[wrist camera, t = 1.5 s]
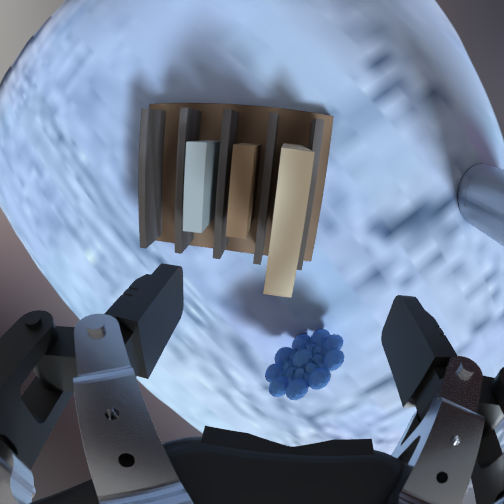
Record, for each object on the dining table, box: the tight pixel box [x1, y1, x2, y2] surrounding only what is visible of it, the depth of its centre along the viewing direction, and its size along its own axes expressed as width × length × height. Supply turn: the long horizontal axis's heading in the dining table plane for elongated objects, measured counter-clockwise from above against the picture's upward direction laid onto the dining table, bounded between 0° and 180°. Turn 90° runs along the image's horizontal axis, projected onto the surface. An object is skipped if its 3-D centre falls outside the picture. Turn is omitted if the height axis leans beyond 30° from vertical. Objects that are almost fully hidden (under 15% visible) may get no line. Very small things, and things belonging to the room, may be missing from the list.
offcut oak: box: [226, 143, 261, 239], centre depth 30 cm, size 2×9×7 cm, turn 174°
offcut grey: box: [183, 140, 220, 233], centre depth 30 cm, size 2×9×7 cm, turn 175°
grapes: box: [265, 329, 344, 400], centre depth 38 cm, size 12×7×12 cm, turn 116°
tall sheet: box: [263, 143, 315, 298], centre depth 26 cm, size 2×10×16 cm, turn 175°
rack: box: [139, 103, 333, 270], centre depth 32 cm, size 22×18×6 cm
